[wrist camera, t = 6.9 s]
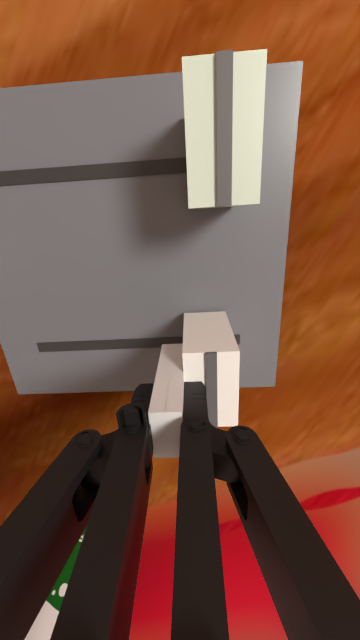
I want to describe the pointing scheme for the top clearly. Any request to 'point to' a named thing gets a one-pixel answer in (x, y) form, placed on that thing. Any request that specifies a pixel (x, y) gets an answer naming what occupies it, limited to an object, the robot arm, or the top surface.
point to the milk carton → (53, 601)
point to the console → (131, 233)
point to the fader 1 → (224, 127)
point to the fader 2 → (213, 363)
